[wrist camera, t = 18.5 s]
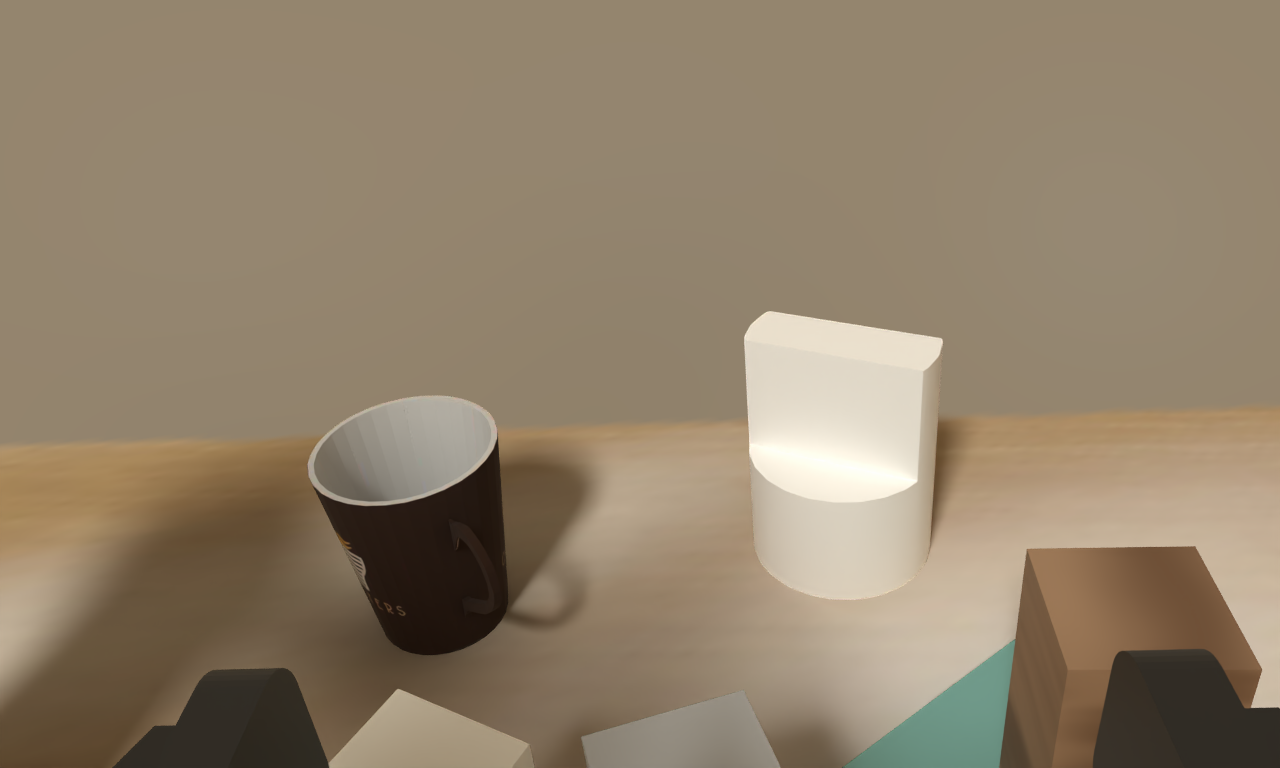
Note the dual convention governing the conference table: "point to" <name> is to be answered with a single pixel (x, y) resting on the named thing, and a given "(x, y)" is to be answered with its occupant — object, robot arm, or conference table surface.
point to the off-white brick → (429, 740)
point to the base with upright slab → (841, 453)
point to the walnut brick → (1105, 641)
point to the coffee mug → (420, 517)
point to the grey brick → (686, 739)
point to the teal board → (952, 724)
